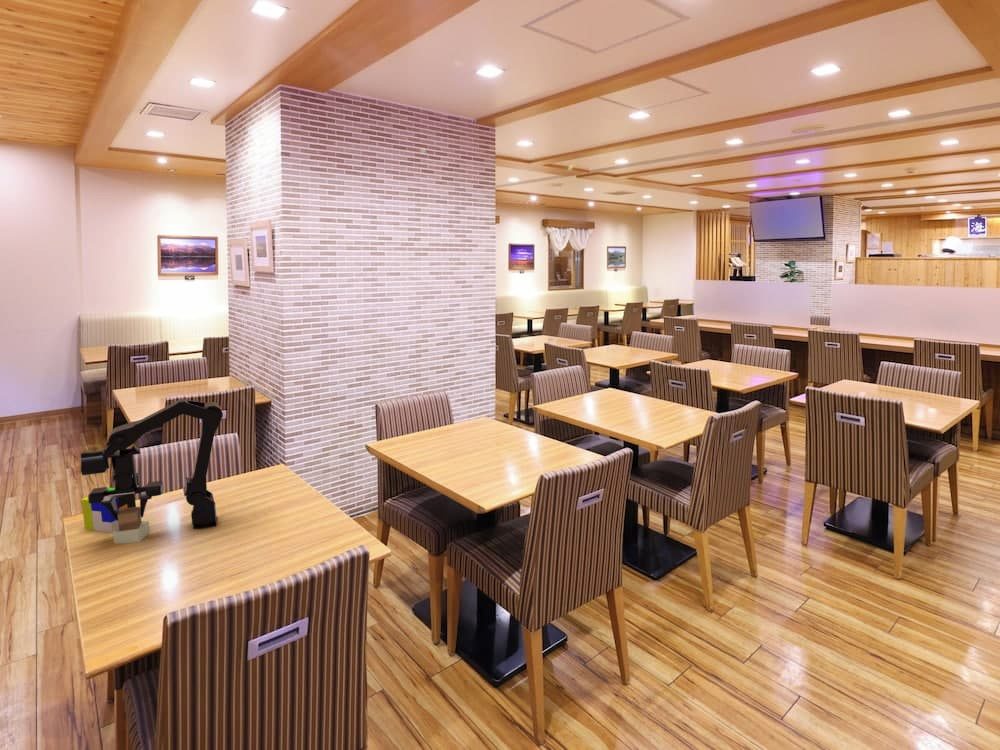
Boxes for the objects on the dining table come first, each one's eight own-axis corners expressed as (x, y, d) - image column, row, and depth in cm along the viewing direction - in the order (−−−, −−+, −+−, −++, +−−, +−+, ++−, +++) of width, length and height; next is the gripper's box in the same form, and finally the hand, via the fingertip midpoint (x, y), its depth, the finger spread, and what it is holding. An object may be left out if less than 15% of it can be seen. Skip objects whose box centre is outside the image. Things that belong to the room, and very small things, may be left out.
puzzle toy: (112, 532, 188) (108, 502, 186) (85, 529, 190) (81, 499, 188) (137, 519, 198) (134, 490, 196) (111, 516, 200) (107, 487, 198)
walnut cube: (138, 528, 183) (136, 512, 182) (119, 530, 181) (117, 515, 180) (141, 521, 187) (140, 506, 187) (122, 524, 186) (121, 508, 185)
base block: (149, 532, 189) (148, 520, 188) (139, 543, 182) (137, 531, 181) (125, 533, 188) (124, 521, 187) (114, 544, 181) (112, 532, 181)
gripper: (163, 457, 191) (168, 504, 194) (94, 464, 185) (100, 512, 188) (158, 469, 181) (163, 518, 184) (84, 476, 175) (91, 527, 178)
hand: (130, 518), depth 184 cm, fingers open, 6 cm apart
